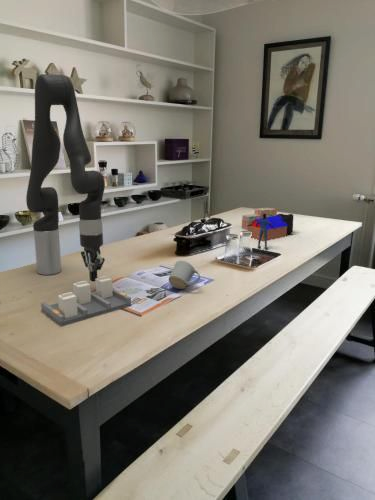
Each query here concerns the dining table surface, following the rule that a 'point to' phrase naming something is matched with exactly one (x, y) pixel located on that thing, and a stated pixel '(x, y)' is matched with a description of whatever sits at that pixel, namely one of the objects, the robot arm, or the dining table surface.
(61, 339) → the dining table surface
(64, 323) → the switch bank
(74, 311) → the cream upright block
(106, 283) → the white rectangular block
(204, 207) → the pliers
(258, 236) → the house
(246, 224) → the stack of blocks
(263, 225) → the person figurine
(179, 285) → the ceramic mug
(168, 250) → the dining table surface
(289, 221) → the pen holder
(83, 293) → the off-white rectangular block
